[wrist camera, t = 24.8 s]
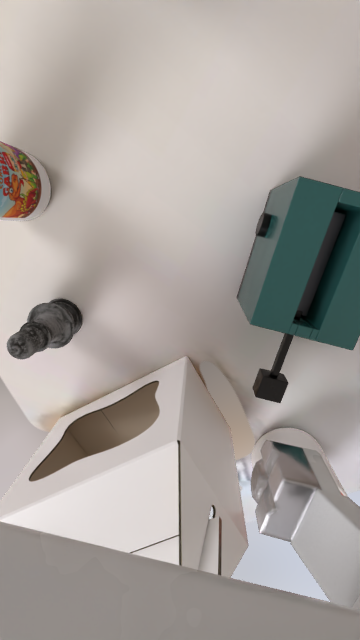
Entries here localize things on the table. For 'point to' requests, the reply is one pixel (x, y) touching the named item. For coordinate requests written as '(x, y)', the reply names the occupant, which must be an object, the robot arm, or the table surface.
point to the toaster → (305, 264)
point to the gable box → (140, 475)
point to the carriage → (273, 382)
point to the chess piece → (46, 328)
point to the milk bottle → (22, 185)
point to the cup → (294, 439)
